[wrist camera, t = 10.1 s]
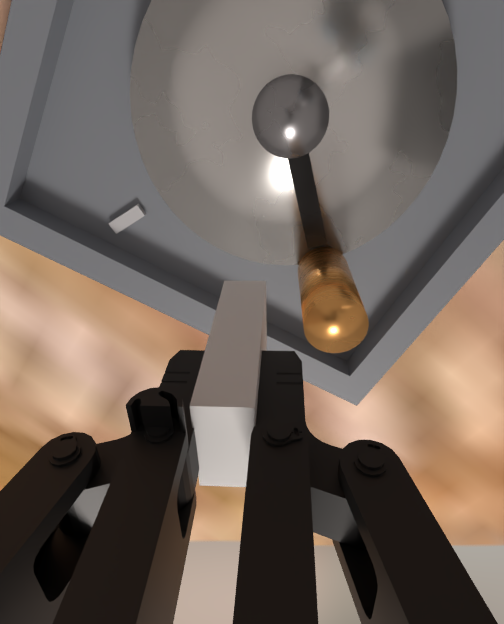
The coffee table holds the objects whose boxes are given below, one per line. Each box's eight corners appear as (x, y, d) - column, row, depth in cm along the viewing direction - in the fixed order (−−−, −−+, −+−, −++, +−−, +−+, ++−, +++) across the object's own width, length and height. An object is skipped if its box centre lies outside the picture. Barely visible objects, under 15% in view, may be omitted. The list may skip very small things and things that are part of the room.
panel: (158, -450, 13) (132, -564, 10) (675, -11, 17) (736, -24, 15) (-4, 203, 22) (-35, 218, 20) (349, 377, 27) (356, 405, 24)
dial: (78, 114, 19) (-4, 132, 13) (298, -195, 14) (313, -371, 9) (292, 312, 23) (298, 388, 18) (518, 126, 18) (623, 150, 13)
